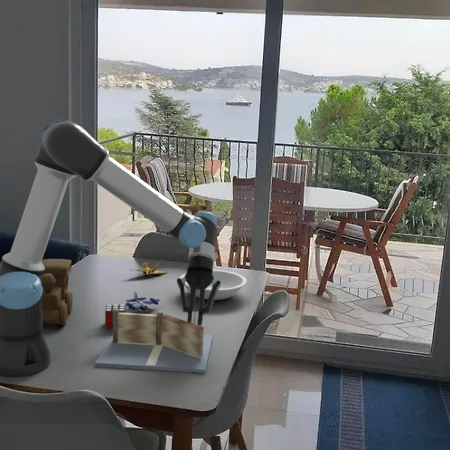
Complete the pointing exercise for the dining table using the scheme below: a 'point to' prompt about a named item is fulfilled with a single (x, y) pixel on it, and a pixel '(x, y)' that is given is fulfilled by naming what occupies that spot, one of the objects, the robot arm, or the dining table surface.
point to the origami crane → (149, 269)
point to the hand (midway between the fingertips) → (193, 335)
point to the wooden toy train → (56, 291)
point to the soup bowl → (222, 284)
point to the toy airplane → (141, 303)
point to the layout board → (153, 357)
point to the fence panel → (182, 335)
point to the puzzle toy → (110, 314)
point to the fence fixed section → (137, 327)
